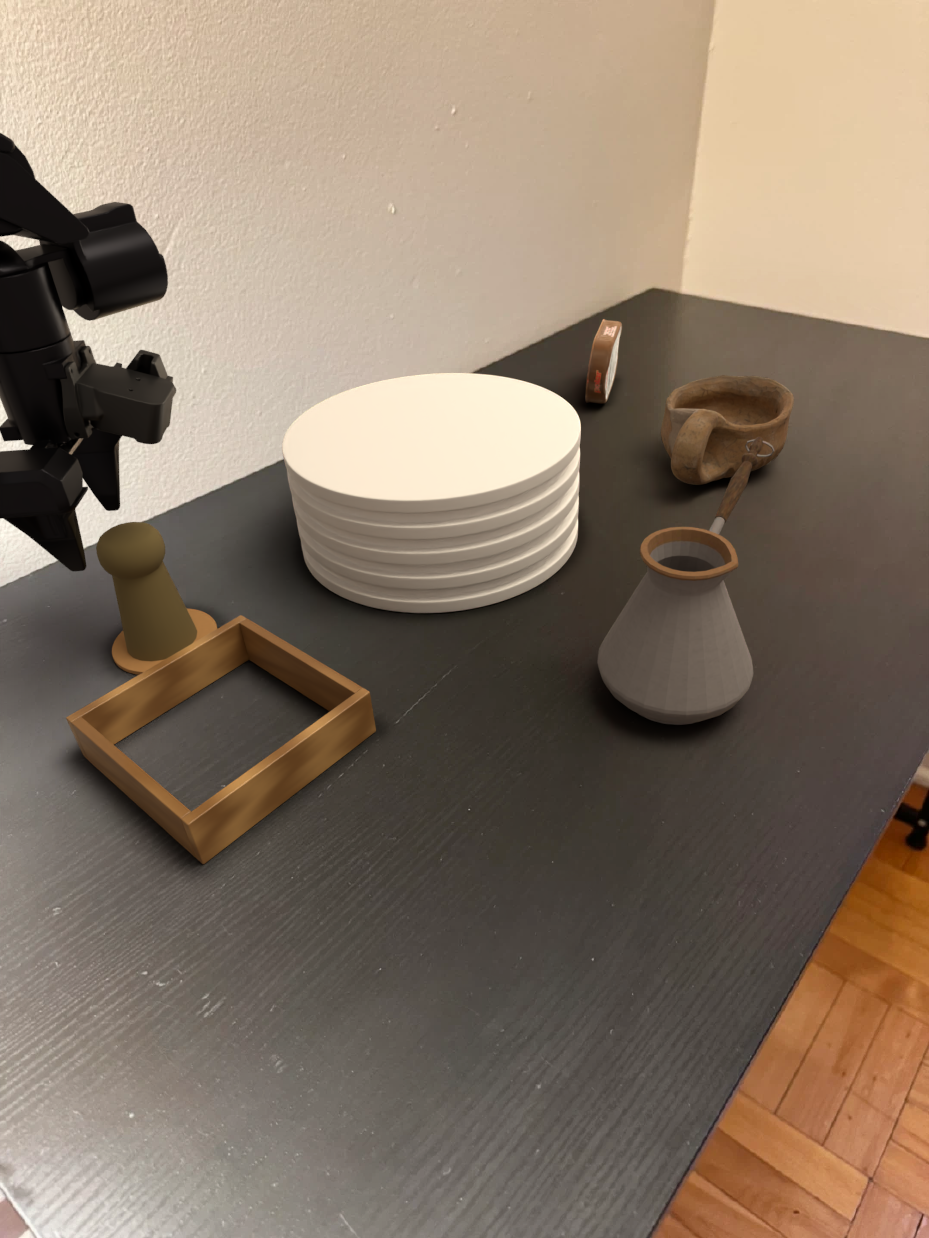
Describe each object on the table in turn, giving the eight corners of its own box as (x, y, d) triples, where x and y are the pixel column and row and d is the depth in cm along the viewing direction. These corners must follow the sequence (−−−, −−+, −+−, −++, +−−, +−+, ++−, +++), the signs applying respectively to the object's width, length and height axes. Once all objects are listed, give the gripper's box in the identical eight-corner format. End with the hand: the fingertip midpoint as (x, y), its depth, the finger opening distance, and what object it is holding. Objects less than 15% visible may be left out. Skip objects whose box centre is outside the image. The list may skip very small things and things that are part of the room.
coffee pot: (717, 765, 59) (748, 589, 50) (570, 709, 64) (574, 541, 55) (802, 607, 73) (839, 447, 64) (676, 572, 78) (693, 420, 69)
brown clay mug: (791, 507, 84) (777, 413, 79) (652, 522, 90) (631, 436, 85) (804, 431, 96) (794, 347, 91) (682, 449, 103) (666, 371, 98)
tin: (599, 370, 119) (601, 310, 114) (621, 371, 119) (625, 310, 114) (582, 413, 108) (584, 348, 103) (607, 414, 107) (610, 349, 102)
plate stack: (384, 653, 71) (366, 536, 64) (261, 520, 90) (238, 420, 84) (636, 545, 82) (644, 436, 75) (479, 447, 102) (474, 353, 95)
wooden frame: (203, 865, 55) (187, 824, 52) (83, 756, 63) (65, 717, 61) (376, 731, 64) (370, 691, 61) (250, 651, 72) (240, 614, 70)
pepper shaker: (186, 660, 71) (150, 549, 65) (116, 662, 71) (73, 552, 65) (205, 617, 76) (173, 510, 69) (139, 619, 76) (101, 513, 70)
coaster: (149, 690, 69) (147, 686, 69) (93, 648, 74) (92, 644, 74) (238, 636, 74) (237, 632, 74) (181, 600, 79) (180, 596, 79)
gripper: (106, 381, 50) (174, 598, 59) (175, 293, 65) (220, 477, 74) (-84, 394, 49) (13, 610, 59) (29, 303, 64) (93, 486, 74)
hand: (97, 538), depth 66 cm, fingers open, 9 cm apart
